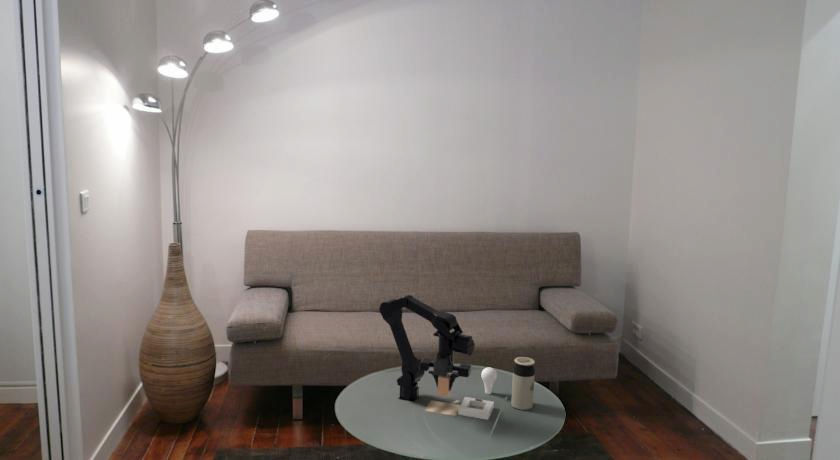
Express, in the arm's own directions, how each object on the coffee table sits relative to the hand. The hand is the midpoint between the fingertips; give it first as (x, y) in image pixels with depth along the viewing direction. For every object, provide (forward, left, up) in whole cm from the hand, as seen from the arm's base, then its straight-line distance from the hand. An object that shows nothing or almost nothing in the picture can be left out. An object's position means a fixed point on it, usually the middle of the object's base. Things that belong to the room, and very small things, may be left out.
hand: (444, 389), depth 221 cm
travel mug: (+27, +14, -8) cm, 31 cm away
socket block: (+12, +2, -8) cm, 14 cm away
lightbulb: (+13, +19, -8) cm, 24 cm away
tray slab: (0, 0, -8) cm, 8 cm away
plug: (0, 0, -2) cm, 2 cm away
